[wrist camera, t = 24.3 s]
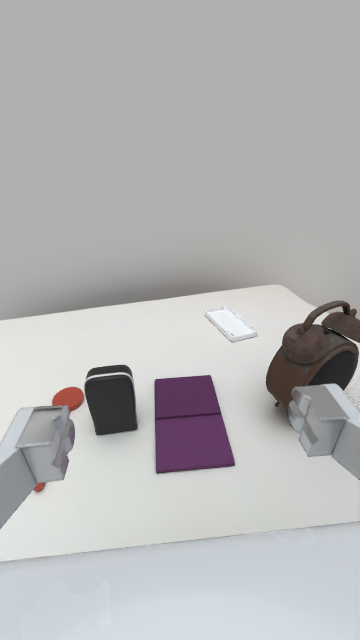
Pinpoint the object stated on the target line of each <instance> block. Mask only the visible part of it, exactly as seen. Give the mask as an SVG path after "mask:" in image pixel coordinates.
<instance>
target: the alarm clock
mask: <svg viewBox="0 0 360 640" xmlns="http://www.w3.org/2000/svg"><path fill="white" fill-rule="evenodd" d="M339 306H342V307H343V311H344V313H343V312H334V313H331V314H329V315H328V316H327V317H326V318H325V319H324V320H323V321H322V323H321V324H322V326H321V325H317V324H314V325H312V324H313V322H314V321H315V319H316V318H317V317H318V316H319V315H321V314H322V313H324V312H326V311H328V310H330V309H333V308H336V307H339ZM356 313H357V311H356V309H352V310H350V305H349V304H348V303H347V302H344V301H334V302H330V303H327V304H325V305H322V306H320V307H318V308H317V309H315V310H314V311H312V312H311V313H310V314H309V315H308V317H307V318H306V320H305V322H304V323H301V324H297V325H294V326H292V327H290V328H289V329H288V330H287V331H286V332H285V334H284V336H283V341H282V346H281V347H280V349H279V350H278V351H277V353H276V355H275V356H274V358H273V360H272V362H271V364H270V366H269V369H268V372H267V376H266V386H267V389H268V391H269V392H270V393H271V394H272V395H273V396H274V398H275V399H276V400H277V403H275V406H276V407H277V406H278V404H281V405H282V406H284V407H285V408H286V409H288V406H289V403H290V402H291V401H292V400H293V397H292V395H291V393H292V390H293V388H294V387H299V386H311V385H322V384H334V383H335V384H337V385H338V386H339V387H340V388H341V389H342V390H343V391H344V389H345V388H346V387H347V385H348V384H349V382H350V380H351V379H352V377H353V375H354V372H355V370H356V367H357V363H358V356H359V351H358V347H357V346H356V344H354V343H353V342H352V341H350V340H349V339H347V338H345V337H344V336H346V337H348V338H350V339H352V340H354V341H356V342H358V343H360V321H359V320H358V319H357V318H355V315H356ZM327 327H328V328H330V329H328V328H327ZM331 329H332V330H331ZM333 330H334V331H333ZM335 331H336V332H335ZM341 334H342V335H344V336H342V335H341ZM290 425H291V424H290Z"/></svg>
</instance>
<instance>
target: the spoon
mask: <svg viewBox="0 0 360 640" xmlns="http://www.w3.org/2000/svg"><path fill="white" fill-rule="evenodd" d="M83 400H84V395H83V392H82V390H81V389H79V388H76V387H69V388H65V389H63V390H61V391H59V392H58V393H57V394H56V395H55V396H54V398H53V401H52V403H53V406H58V405H67V406H68V408H69V411H72V410H75V409H76V408H78V407H79V406H80V405H81V404H82V402H83ZM43 485H44V482H43V483H37V486H36V487H35V488H34V490H35V491H40V490H41V489H42V488H43Z"/></svg>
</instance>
